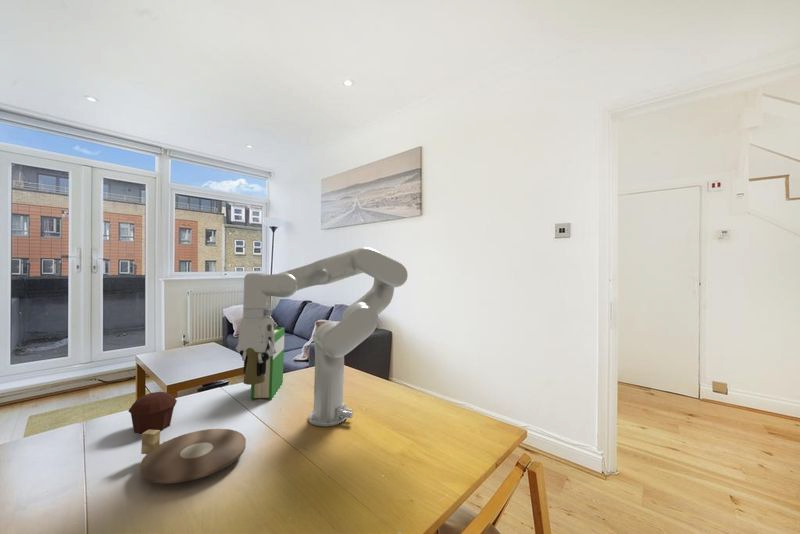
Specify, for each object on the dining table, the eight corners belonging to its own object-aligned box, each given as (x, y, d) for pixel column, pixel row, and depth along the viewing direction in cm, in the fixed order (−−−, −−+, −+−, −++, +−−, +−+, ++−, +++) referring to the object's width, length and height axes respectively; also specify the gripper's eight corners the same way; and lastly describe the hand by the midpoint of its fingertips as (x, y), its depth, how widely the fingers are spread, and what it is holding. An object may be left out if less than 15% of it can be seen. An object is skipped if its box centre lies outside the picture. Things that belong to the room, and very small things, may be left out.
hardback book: (271, 400, 119) (273, 335, 119) (250, 400, 118) (253, 335, 118) (282, 383, 136) (284, 327, 137) (264, 384, 135) (266, 327, 136)
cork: (256, 385, 93) (258, 347, 93) (238, 383, 94) (240, 346, 94) (269, 378, 99) (270, 343, 99) (252, 377, 100) (253, 342, 100)
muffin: (161, 415, 104) (162, 385, 104) (184, 422, 100) (185, 390, 100) (118, 432, 93) (119, 398, 93) (142, 441, 89) (143, 404, 89)
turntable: (244, 426, 94) (245, 409, 94) (247, 467, 75) (247, 445, 75) (146, 443, 84) (147, 424, 84) (119, 497, 64) (120, 471, 64)
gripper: (287, 313, 98) (286, 373, 98) (243, 310, 103) (242, 367, 103) (271, 317, 91) (269, 381, 90) (224, 313, 96) (222, 374, 95)
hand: (254, 373), depth 96 cm, fingers closed on cork, 4 cm apart
